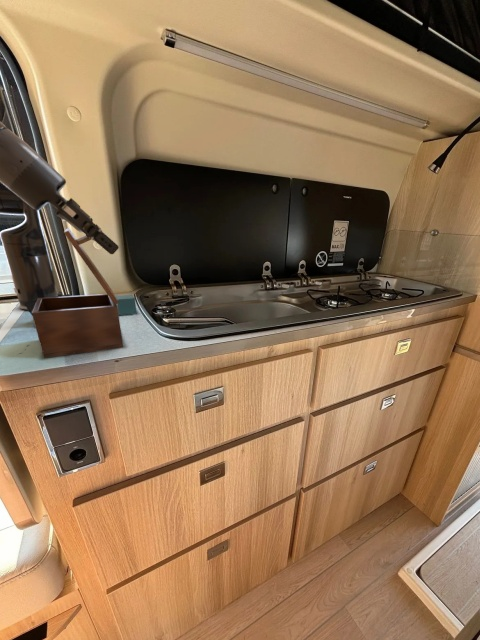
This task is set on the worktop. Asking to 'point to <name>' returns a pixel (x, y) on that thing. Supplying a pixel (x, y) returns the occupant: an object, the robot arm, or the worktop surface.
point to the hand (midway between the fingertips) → (113, 249)
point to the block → (126, 304)
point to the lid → (89, 262)
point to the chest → (76, 324)
